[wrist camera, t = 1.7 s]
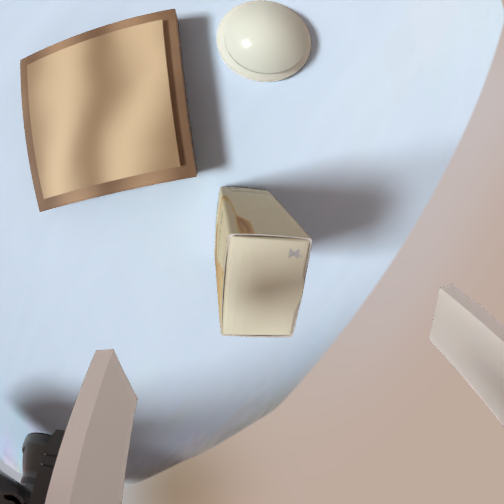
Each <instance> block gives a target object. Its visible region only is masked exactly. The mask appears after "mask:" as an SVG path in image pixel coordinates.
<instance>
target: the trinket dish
mask: <svg viewBox="0 0 504 504" xmlns="http://www.w3.org/2000/svg"><path fill="white" fill-rule="evenodd" d="M217 47H218V51H219V54H220V56H221V57H222V59H223V61H224V62H225V63H226V65H227V66H228V67H229V68H230V69H232V70H233V71H234V72H236V73H237V74H239V75H240V76H243V77H245V78H247V79H250V80H254V81H260V82H273V81H279V80H282V79H285V78H288V77H289V76H291V75H293V74H294V73H296V72H297V71H298V70H300V69H301V68H302V67H303V65H304V64H305V63H306V61H307V59H308V57H309V54H310V50H311V37H310V33H309V30H308V28H307V26H306V24H305V23H304V21H303V20H302V19H301V18H300V17H299V15H298V14H296V13H295V12H294V11H293V10H291V9H290V8H288V7H286V6H284V5H282V4H279V3H276V2H272V1H263V0H258V1H250V2H246V3H243V4H241V5H238V6H236V7H235V8H233V9H232V10H231V11H229V12H228V13H227V14H226V15H225V16H224V18H223V19H222V21H221V23H220V25H219V27H218V31H217Z"/></svg>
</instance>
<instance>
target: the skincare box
mask: <svg viewBox="0 0 504 504" xmlns="http://www.w3.org/2000/svg"><path fill="white" fill-rule="evenodd" d="M311 245H312V239H311V237H310V236H309V235H308V234H307V233H306V232H305V231H304V230H303V229H302V228H301V226H300V225H299V224H298V223H297V222H296V221H295V220H294V219H293V217H292V216H291V215H290V214H289V213H288V212H287V211H286V210H285V209H284V208H283V206H282V205H281V204H280V203H279V202H278V201H277V200H276V199H275V198H274V197H273V196H272V194H271V193H270V192H269V191H266V190H258V189H250V188H239V187H221V188H220V191H219V198H218V206H217V216H216V230H215V265H216V278H217V292H218V304H219V317H220V328H221V335H224V336H245V337H291V336H292V335H293V333H294V329H295V324H296V320H297V316H298V311H299V306H300V302H301V298H302V294H303V289H304V283H305V277H306V272H307V267H308V262H309V257H310V251H311Z"/></svg>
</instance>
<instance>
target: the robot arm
mask: <svg viewBox="0 0 504 504" xmlns="http://www.w3.org/2000/svg"><path fill="white" fill-rule="evenodd" d="M429 339H430V341H431V342H432V343H433V344H434V345H435V346H436V347H437V348H438V350H439V351H440V352H441V353H442V354H443V355H444V356H445V357H446V358H447V359H448V361H449V362H450V363H451V364H452V365H453V366H454V368H455V369H456V370H457V371H458V372H459V373H460V374H461V375H462V377H463V378H464V379H465V380H466V381H467V383H468V384H469V385H470V386H471V387H472V388H473V390H474V391H475V392H476V393H477V394H478V396H479V397H480V398H481V399H482V400H483V401H484V403H485V404H486V405H487V406H488V408H489V409H490V410H491V411H492V413H493V414H494V415H495V416H496V417H497V419H498V420H499V421H500V423H501V424H502V425H503V426H504V325H503V324H502V323H501V322H500V321H498V320H497V319H496V318H495V317H494V316H492V315H491V314H490V313H489V312H488V311H486V310H485V309H484V308H482V307H481V306H480V305H479V304H478V303H476V302H475V301H474V300H473V299H471V298H470V297H469V296H467V295H466V294H465V293H463V292H462V291H461V290H460V289H458V288H457V287H456V286H454V285H453V284H450V285H447V286H444V287H440V290H439V294H438V300H437V305H436V310H435V315H434V319H433V324H432V328H431V332H430V336H429ZM137 399H138V398H137V396H136V395H135V393H134V391H133V389H132V387H131V385H130V383H129V381H128V379H127V377H126V375H125V373H124V371H123V369H122V367H121V365H120V362H119V360H118V358H117V356H116V354H115V352H114V349H109V350H96V352H95V354H94V356H93V359H92V361H91V364H90V366H89V368H88V371H87V373H86V376H85V378H84V381H83V384H82V386H81V389H80V391H79V394H78V397H77V399H76V402H75V405H74V408H73V410H72V413H71V416H70V419H69V422H68V425H67V428H66V431H62V430H56V431H55V432H54V434H53V435H52V436H48V435H44V434H38V433H32V434H29V435H27V436H26V438H25V441H24V443H23V447H22V451H23V476H22V479H21V483H18V482H17V481H15V480H14V479H13V478H11V477H10V476H8V475H7V474H5V473H4V472H2V471H1V470H0V504H122V497H123V496H122V495H123V488H124V480H125V472H126V465H127V458H128V451H129V445H130V439H131V433H132V427H133V421H134V415H135V410H136V404H137Z"/></svg>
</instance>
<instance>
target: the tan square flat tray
mask: <svg viewBox="0 0 504 504" xmlns="http://www.w3.org/2000/svg"><path fill="white" fill-rule="evenodd" d="M20 69H21V95H22V109H23V120H24V129H25V137H26V144H27V151H28V157H29V163H30V169H31V174H32V179H33V184H34V189H35V193H36V198H37V202H38V206H39V210H40V212H42V211H45V210H49V209H52V208H56V207H60V206H63V205H67V204H71V203H75V202H79V201H83V200H87V199H91V198H95V197H99V196H103V195H107V194H112V193H116V192H120V191H125V190H130V189H134V188H139V187H144V186H149V185H154V184H159V183H164V182H169V181H174V180H180V179H185V178H191V177H196V175H197V167H196V161H195V154H194V147H193V140H192V134H191V126H190V119H189V112H188V104H187V97H186V89H185V81H184V73H183V64H182V55H181V46H180V37H179V27H178V19H177V15H176V11H175V9H170V10H165V11H160V12H155V13H151V14H146V15H142V16H138V17H134V18H130V19H126V20H123V21H119V22H116V23H112V24H109V25H106V26H102V27H99V28H96V29H93V30H90V31H88V32H85V33H82V34H79V35H76V36H74V37H71V38H69V39H66V40H64V41H61V42H59V43H56V44H54V45H52V46H49V47H47V48H45V49H43V50H40V51H38V52H36V53H34V54H32V55H30V56H28V57H26V58H24V59H22V60H20Z"/></svg>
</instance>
